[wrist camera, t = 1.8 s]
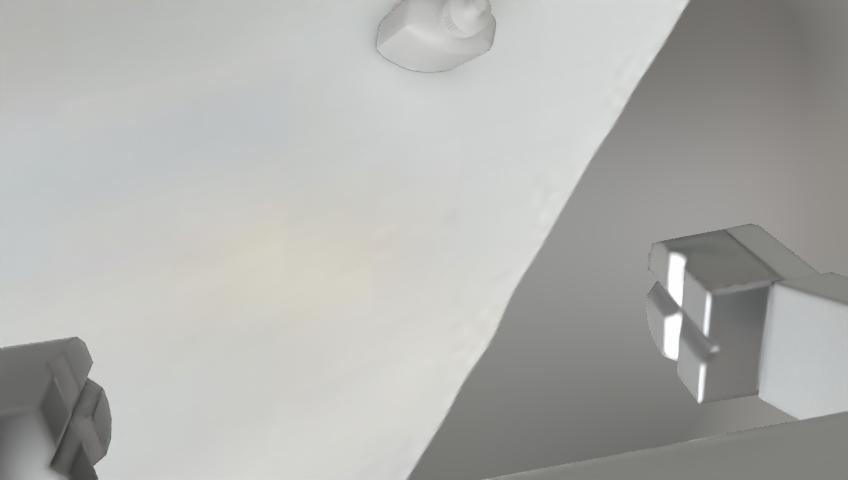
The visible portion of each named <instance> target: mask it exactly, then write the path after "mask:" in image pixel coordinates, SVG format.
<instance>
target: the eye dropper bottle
mask: <svg viewBox="0 0 848 480" xmlns="http://www.w3.org/2000/svg"><path fill="white" fill-rule="evenodd" d="M495 30H496V20H495V18H494V16H493V15H492V13H491V6H490V3H489V1H488V0H404V1H403V2H402V3H401V4H399V5H398V6H397V7H396V8H395V9H394V10H393V11H392V12H390V13H389V14H388V15H387V16H386V17H385V18H384V19H383V20H382V21H381V23H380V25H379V30H378V36H377V42H376V46H377V50H378V51H379V53H380V54H381V55H383V56H384V57H385V58H387V59H388V60H390V61H391V62H393V63H395V64H397V65H399V66H401V67H404V68H406V69H410V70H414V71H419V72H441V71H447V70H450V69H453V68H455V67H457V66H459V65H461V64H464V63H466V62H468V61H470V60H472V59H474V58H476V57H478V56H480V55H482V54H484V53H486V52H487V51H489V50H490V48H491V46H492V44H493V40H494V36H495Z"/></svg>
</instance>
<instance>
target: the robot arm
mask: <svg viewBox="0 0 848 480" xmlns="http://www.w3.org/2000/svg"><path fill="white" fill-rule="evenodd" d="M648 270H649V271H650V272H651V273H652V275H653V276H654V277H655V278H656V279H657V282H656V283H655V285H654V286H653V287H652V289H651V290H650V292H649V293H648V294H647V318H648V324H649V328H650V333H651V335H652V337H653V339H654V342H655V344H656V345H657V347H658V349H659V350H660V351H661V353H662V354H663V355H664V356H666V357H668V358H670V359H673V360H675V361H677V362H678V370H677V375H678V376H679V377H680V379H681V380H682V381H683V383H684V384H685V385H686V387H687V388H688V389H689V391H690V392H691V393H692V395H693V396H694V397H695V399H696V400H697V401H698V403H699V404H701V403H708V402H714V401H721V400H727V399H733V398H740V397H746V396H753V395H759V396H758V397H759V398H760V399H762V400H764V401H766V402H768V403H770V404H771V405H773V406H775V407H777V408H779V409H780V410H782V411H784V412H786V413H788V414H789V415H791V416H793V417H795V418H797V419H798V420H796V421H791V422H786V423H781V424H775V425H770V426H765V427H759V428H754V429H749V430H744V431H738V432H733V433H727V434H722V435H717V436H711V437H706V438H701V439H696V440H690V441H685V442H680V443H675V444H669V445H664V446H659V447H653V448H648V449H642V450H638V451H632V452H627V453H622V454H616V455H611V456H605V457H600V458H595V459H590V460H584V461H579V462H574V463H569V464H564V465H558V466H552V467H547V468H542V469H537V470H532V471H526V472H521V473H516V474H510V475H505V476H499V477H494V478H489V479H484V480H848V277H847V276H843V275H840V274H836V273H832V272H829V273H823V274H820V273H819V272H817V271H816V270H815V269H814V268H812V267H811V266H810V265H808V264H807V263H806V262H805V261H804V260H802V259H801V258H800V257H799V256H797V255H796V254H795V253H793V252H792V251H791V250H790V249H788V248H787V247H786V246H784V245H783V244H782V243H781V242H779V241H778V240H777V239H776V238H774V237H773V236H772V235H770V234H769V233H768V232H767V231H765V230H764V229H763V228H762V227H760V226H759V225H754V224H747V225H742V226H737V227H732V228H728V229H722V230H717V231H712V232H706V233H701V234H696V235H691V236H685V237H680V238H675V239H670V240H664V241H660V242H656V243H652V246H651V249H650V252H649V260H648ZM92 364H93V361H92V358H91V356H90V354H89V351H88V349H87V347H86V344H85V342H83V341H82V340H81V339H79V338H78V337H71V338H64V339H57V340H51V341H44V342H37V343H30V344H23V345H16V346H9V347H4V348H0V480H98V477H97V475H96V472H95V470H94V467H93V466H94V465H95V464H96V463H97V462H99V461H100V460H101V459H102V458H103V457H104V456H105V455H106V454H107V450H108V447H109V444H110V440H111V414H110V408H109V403H108V400H107V397H106V395H105V392H104V389H103V388H102V387H101V386H99V385H98V384H96V383H95V382H93V381H92V380H90V379H89V378H87V376H88V374H89V371H90V369H91V366H92Z"/></svg>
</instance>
